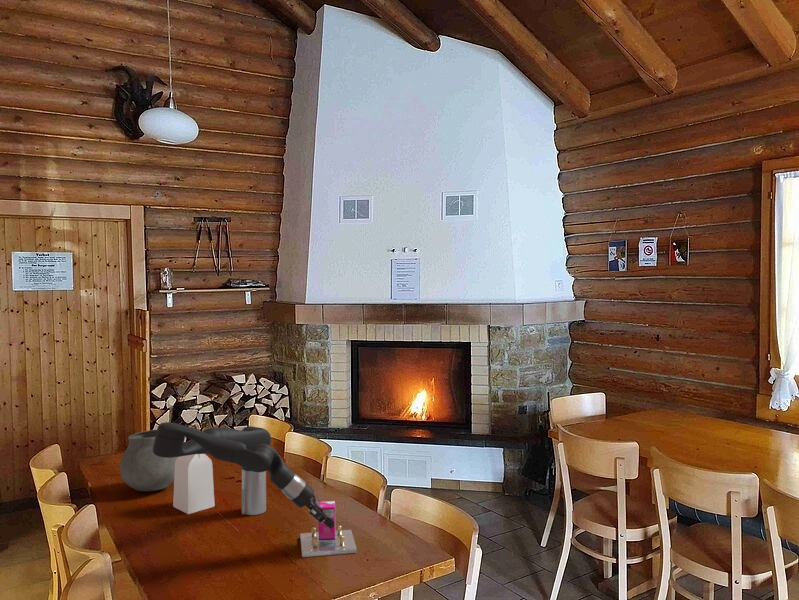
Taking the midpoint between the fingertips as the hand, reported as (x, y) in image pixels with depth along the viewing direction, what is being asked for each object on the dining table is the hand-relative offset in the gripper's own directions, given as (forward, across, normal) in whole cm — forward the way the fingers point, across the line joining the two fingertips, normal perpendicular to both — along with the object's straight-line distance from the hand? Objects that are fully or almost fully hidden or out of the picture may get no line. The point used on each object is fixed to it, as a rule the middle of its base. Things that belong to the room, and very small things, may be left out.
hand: (332, 522), depth 214 cm
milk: (-30, -47, -42) cm, 70 cm away
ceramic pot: (-45, -72, -57) cm, 102 cm away
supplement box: (+2, 0, -5) cm, 5 cm away
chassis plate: (+4, 0, -6) cm, 8 cm away
